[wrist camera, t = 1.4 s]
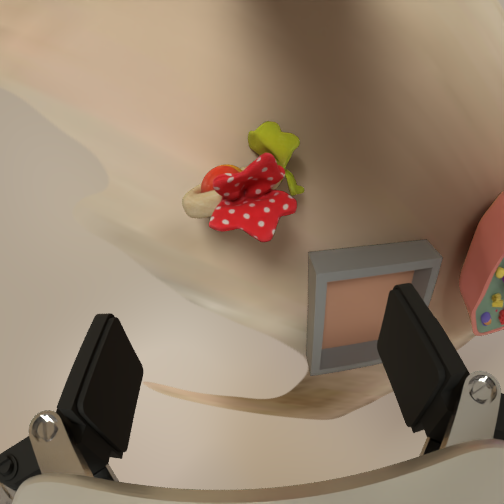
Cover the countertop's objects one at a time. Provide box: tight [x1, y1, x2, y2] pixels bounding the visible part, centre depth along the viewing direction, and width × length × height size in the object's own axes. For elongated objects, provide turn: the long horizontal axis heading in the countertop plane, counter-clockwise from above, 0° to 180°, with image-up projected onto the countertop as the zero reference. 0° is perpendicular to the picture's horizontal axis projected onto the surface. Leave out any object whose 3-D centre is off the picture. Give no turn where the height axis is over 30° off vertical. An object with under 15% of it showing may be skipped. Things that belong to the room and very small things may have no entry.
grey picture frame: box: [306, 239, 443, 376], centre depth 31 cm, size 15×13×4 cm
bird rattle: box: [182, 121, 304, 242], centre depth 20 cm, size 6×11×9 cm
